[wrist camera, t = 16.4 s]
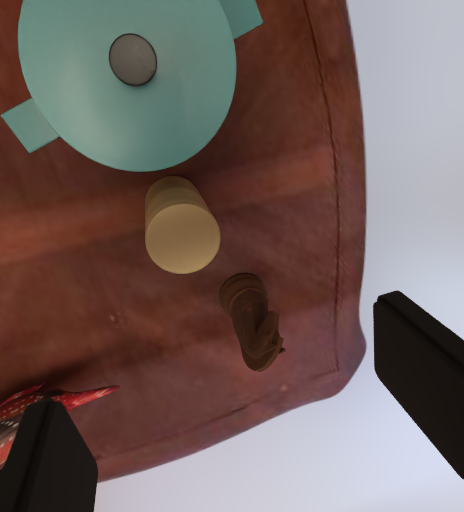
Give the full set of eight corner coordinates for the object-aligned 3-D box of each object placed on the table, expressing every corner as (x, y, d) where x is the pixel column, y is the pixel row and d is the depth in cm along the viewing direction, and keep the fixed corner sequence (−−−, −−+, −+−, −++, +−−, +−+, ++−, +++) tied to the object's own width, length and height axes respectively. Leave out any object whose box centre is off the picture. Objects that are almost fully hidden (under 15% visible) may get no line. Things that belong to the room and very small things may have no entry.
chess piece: (272, 283, 37) (314, 342, 28) (246, 322, 38) (278, 392, 29) (234, 265, 35) (265, 323, 26) (208, 308, 36) (230, 377, 27)
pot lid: (-29, 7, 18) (-75, -18, 14) (171, -104, 18) (178, -159, 14) (107, 201, 23) (99, 221, 19) (262, 114, 23) (285, 117, 19)
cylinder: (137, 183, 30) (135, 215, 22) (193, 169, 30) (211, 195, 22) (153, 236, 32) (157, 282, 24) (206, 222, 32) (227, 262, 24)
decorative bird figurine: (-54, 414, 34) (-124, 525, 25) (115, 331, 35) (106, 411, 26) (-33, 432, 35) (-92, 544, 27) (130, 352, 36) (126, 435, 27)
